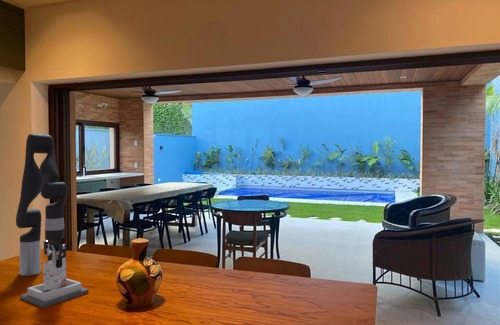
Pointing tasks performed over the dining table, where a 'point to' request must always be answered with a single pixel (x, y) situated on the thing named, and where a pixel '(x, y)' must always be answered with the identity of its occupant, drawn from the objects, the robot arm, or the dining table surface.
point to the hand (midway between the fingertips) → (54, 266)
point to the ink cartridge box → (54, 274)
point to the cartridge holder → (53, 293)
